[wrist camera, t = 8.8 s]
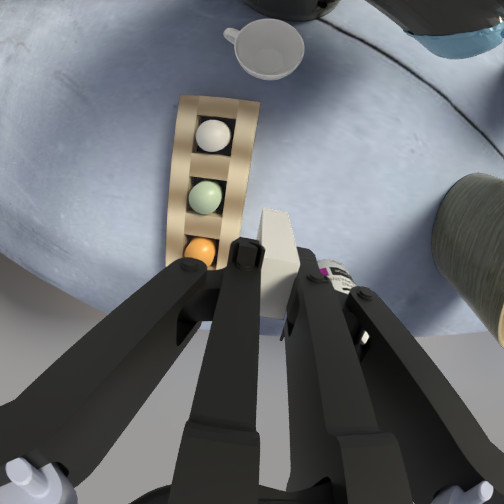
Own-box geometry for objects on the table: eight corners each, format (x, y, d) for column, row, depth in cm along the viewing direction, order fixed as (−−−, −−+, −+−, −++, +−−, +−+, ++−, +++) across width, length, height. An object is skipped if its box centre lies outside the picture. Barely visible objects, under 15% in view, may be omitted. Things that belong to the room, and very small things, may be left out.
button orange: (191, 231, 40) (185, 240, 37) (218, 235, 40) (214, 245, 37) (189, 256, 42) (183, 266, 39) (215, 260, 42) (211, 271, 39)
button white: (203, 119, 34) (198, 118, 31) (233, 122, 34) (231, 121, 31) (199, 148, 35) (193, 150, 32) (229, 151, 35) (226, 153, 32)
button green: (196, 177, 37) (190, 181, 34) (225, 180, 37) (221, 185, 34) (193, 205, 39) (187, 211, 35) (221, 208, 39) (217, 216, 36)
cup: (279, 96, 33) (283, 88, 26) (213, 63, 31) (203, 50, 25) (307, 53, 30) (316, 38, 24) (242, 21, 28) (239, 1, 22)
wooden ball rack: (186, 97, 33) (180, 94, 30) (260, 104, 33) (260, 102, 30) (171, 269, 43) (165, 278, 41) (233, 279, 44) (231, 289, 41)
